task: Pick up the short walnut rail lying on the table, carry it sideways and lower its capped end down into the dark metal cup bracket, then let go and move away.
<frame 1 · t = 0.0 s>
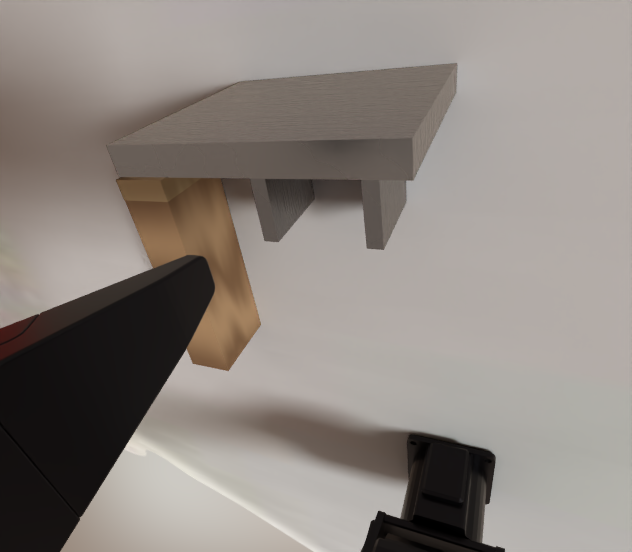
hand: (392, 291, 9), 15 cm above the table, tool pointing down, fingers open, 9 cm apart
cup bracket: (346, 153, 23), on the table
rail: (221, 245, 31), on the table
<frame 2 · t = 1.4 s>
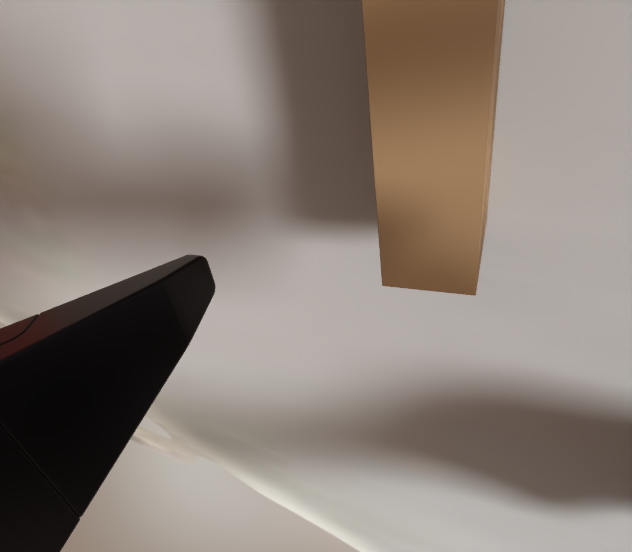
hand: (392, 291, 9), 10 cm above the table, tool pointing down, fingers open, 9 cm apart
rail: (453, 26, 14), on the table
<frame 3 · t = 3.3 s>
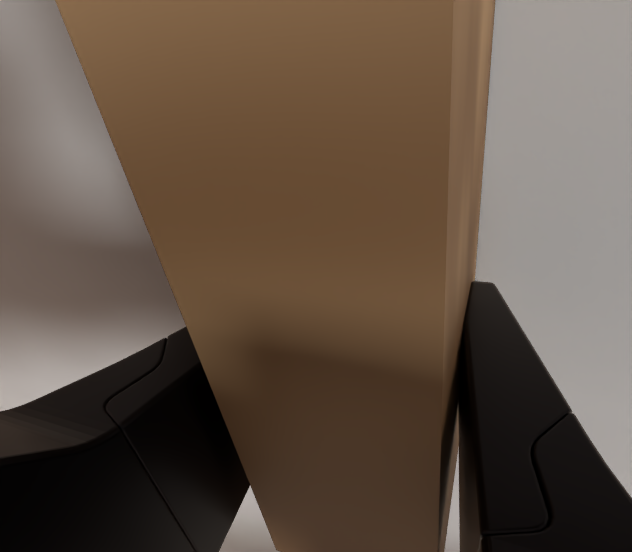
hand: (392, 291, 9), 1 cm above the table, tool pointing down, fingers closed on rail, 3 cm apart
rail: (397, 97, 8), on the table, touching gripper
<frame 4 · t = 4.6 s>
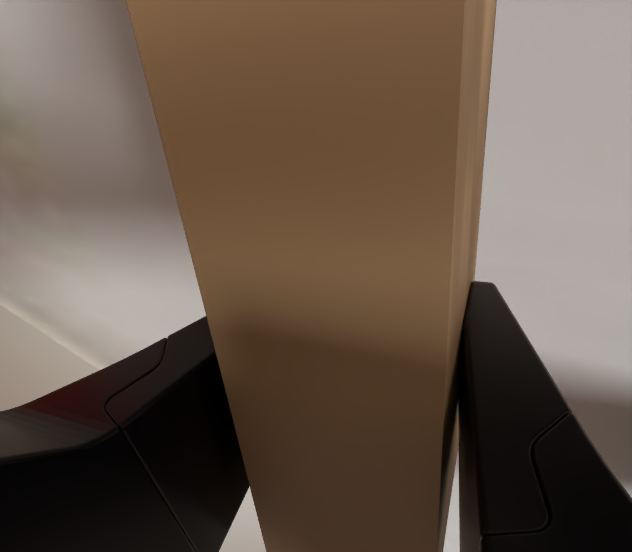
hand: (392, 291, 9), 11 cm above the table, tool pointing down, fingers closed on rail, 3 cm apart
rail: (403, 102, 8), point 9 cm above the table, tilted 7°, touching gripper
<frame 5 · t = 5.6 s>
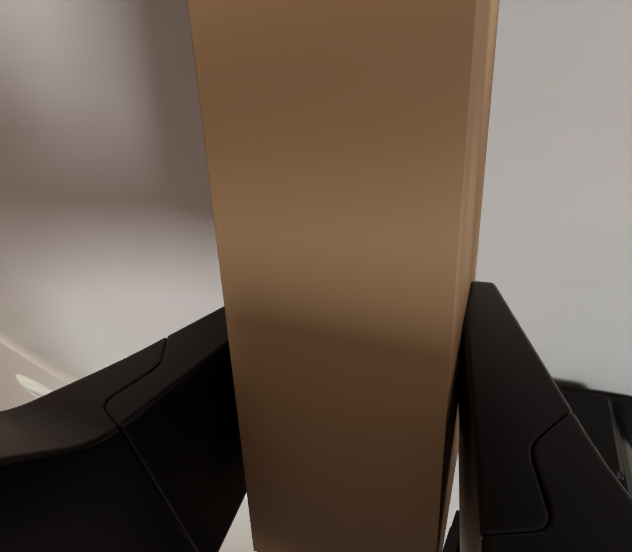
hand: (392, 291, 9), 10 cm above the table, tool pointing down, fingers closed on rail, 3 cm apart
rail: (411, 112, 9), point 8 cm above the table, tilted 16°, touching gripper
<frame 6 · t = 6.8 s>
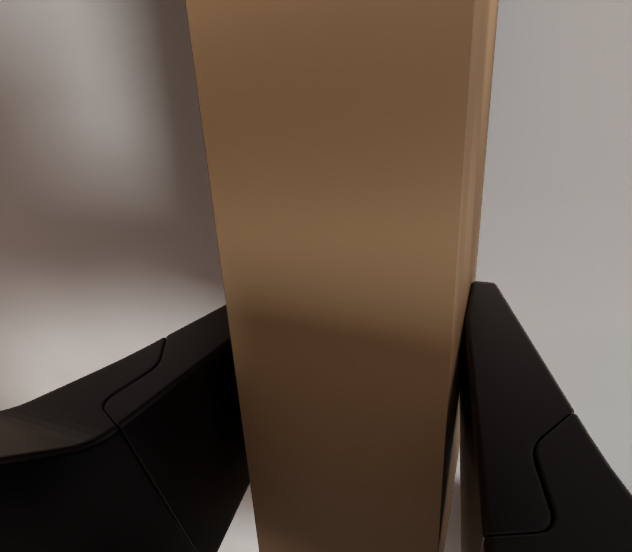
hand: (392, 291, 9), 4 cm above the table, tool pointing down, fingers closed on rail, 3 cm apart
rail: (410, 120, 9), point 2 cm above the table, tilted 15°, touching gripper
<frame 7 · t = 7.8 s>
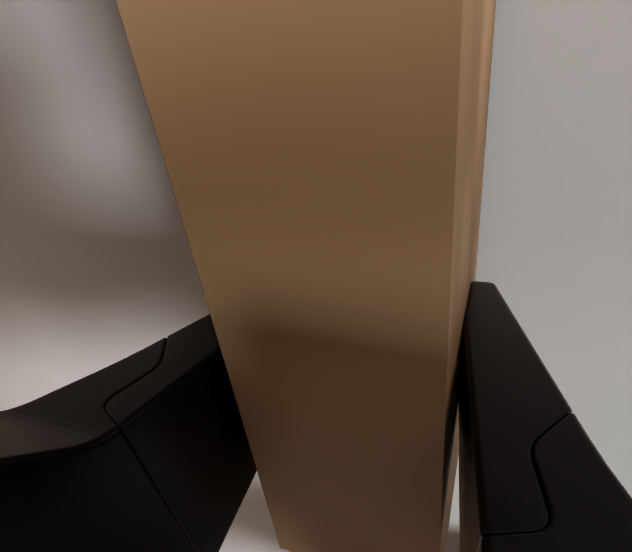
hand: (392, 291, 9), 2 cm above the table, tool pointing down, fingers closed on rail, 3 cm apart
rail: (403, 114, 8), on the table, touching gripper
when the fingers open (2 cm above the table, at t = 8.0 s): rail stays where it is, on the table.
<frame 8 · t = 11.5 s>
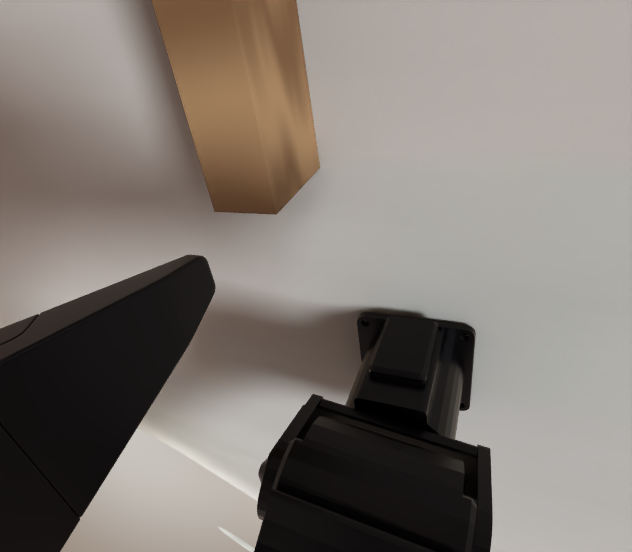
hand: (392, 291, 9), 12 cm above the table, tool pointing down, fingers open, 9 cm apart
rail: (263, 5, 18), on the table
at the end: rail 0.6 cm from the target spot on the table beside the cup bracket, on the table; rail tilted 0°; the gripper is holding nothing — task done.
